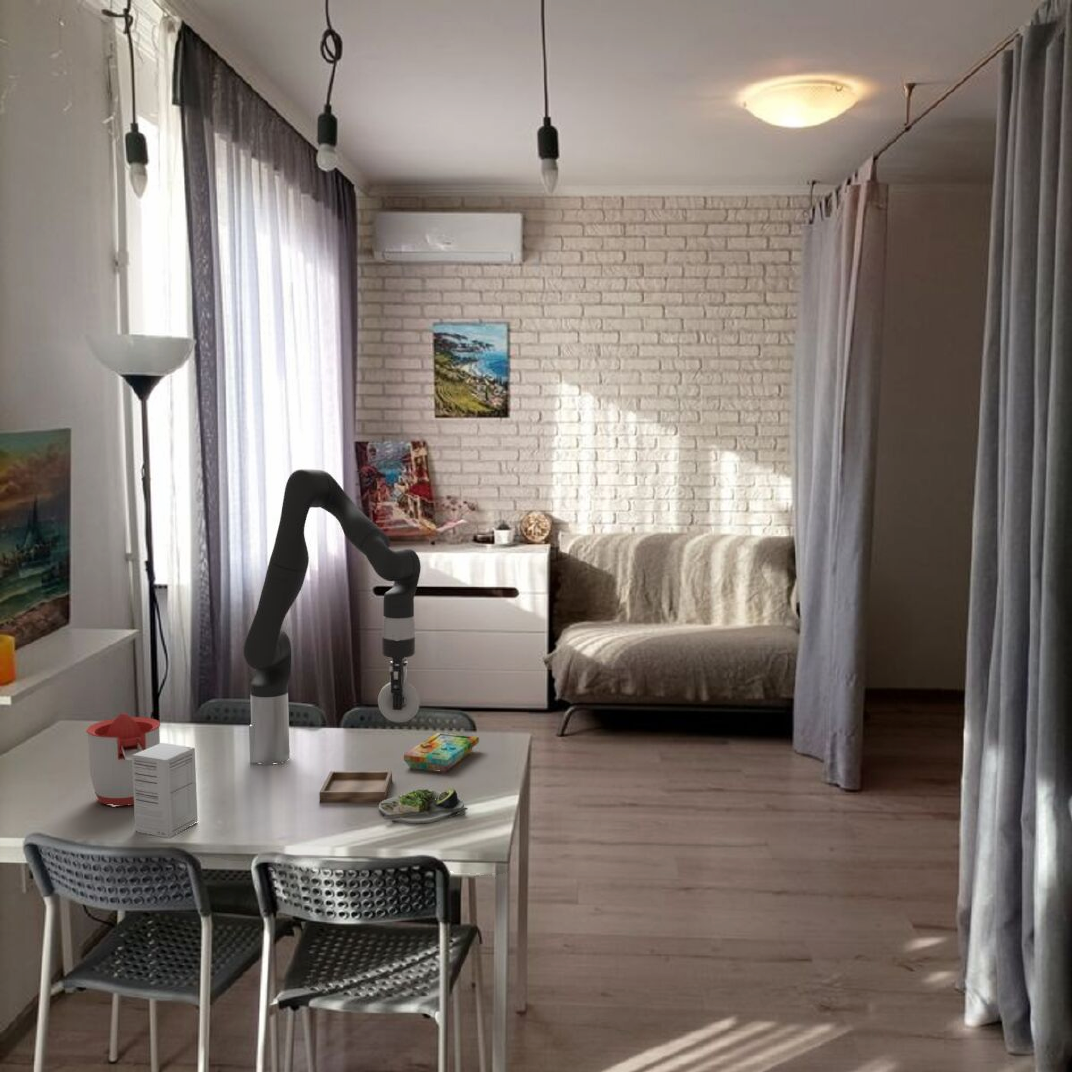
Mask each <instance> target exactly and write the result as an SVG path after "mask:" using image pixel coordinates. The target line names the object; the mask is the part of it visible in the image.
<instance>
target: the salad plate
mask: <svg viewBox="0 0 1072 1072" xmlns="http://www.w3.org/2000/svg"><path fill="white" fill-rule="evenodd" d="M435 799H436V800H435ZM464 806H465V803H464V802H463V801H462V800H460V799H459V798H458V793H457V791H456V789H454V788H450V789H447V790H446V791H443V792H441V791H438V790H436V789H435V790H434V789H415V790H411V791H409V792H406V793H403V794H400V795H398V796H393V797H390V798H386V800H384V801H382V802H381V803H378V808H377V809H378V810H379V811H380V812H381V813H382V815H383V820H386V821H387V820H388V821H395V822H399V823H404V824H405V823H408V824H409V823H410V824H428V823H434V822H437V821H441V820H444V819H447V818H448V819H449V818H450V817H453V815H454V816H456V814H457V815H459V814H461V813H462V812H465V811H467V810H468V807H464ZM397 807H398V811H399V812H396V811H395V812H394V810H395V808H397ZM458 813H459V814H458Z"/></svg>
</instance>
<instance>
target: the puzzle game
mask: <svg viewBox="0 0 1072 1072" xmlns="http://www.w3.org/2000/svg"><path fill="white" fill-rule="evenodd" d="M479 742H480V737H479V736H473V735H471V736H470V735H461V734H453V733H452V734H451V733H444V732H437V733H435V734H434V735H432V736H430V737H429V738H427V739H425V740H423V741H422V742H421V743H419V744H417V745H416V746H414V747H413V748H411V749H409V750H408V751H406V752H405V753H404V755H403V761H404V762H405V763H406V765H407V766H408V767H409V768H410V769H416V770H423V769H430V770H429V771H432V770H440V771H446V770H447V771H449V770H450V769H451V768H452V767H454V766H455V765H456V764H458V763H459V762H460V761H462V760H463V759H464V758H463V757H465V756H466V755H467V754H469V755H470V754H471V752H472V751H473V748H474V747H475V746H477V745H478V744H479ZM467 756H468V755H467ZM467 756H466V757H467ZM466 757H465V758H466ZM462 758H463V759H462ZM461 759H462V760H461ZM458 761H459V762H458ZM457 762H458V763H457ZM455 763H456V764H455ZM454 764H455V765H454ZM453 765H454V766H453ZM451 766H452V767H451ZM450 767H451V768H450ZM449 768H450V769H449ZM440 771H439V772H440ZM447 771H446V772H447Z"/></svg>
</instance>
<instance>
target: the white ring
mask: <svg viewBox="0 0 1072 1072" xmlns="http://www.w3.org/2000/svg"><path fill="white" fill-rule="evenodd" d="M395 688H400V686H395ZM403 697H404V706H402V710H393V694H391V683H390V682H388V683H386V684H385V685H383V687H382V688H381V689H380V691H379V694H378V698H377V703H378V709H379V711H380V713H381V714H382V716H383V717H385V718H386V719H387V720H389V721H391V722H393V723H406V722H408V721H410V720H412V719H413V718H414V717H415V716H416V715H417V714H418V711H419V709H420V705H421V704H420V703H421V702H420V701H421V700H420V696H419V693H418V691H417V689H416V688H415V687H414V686H413V685H412V684H410V683H409V682H407V681H406V682H405V684H403Z"/></svg>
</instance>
